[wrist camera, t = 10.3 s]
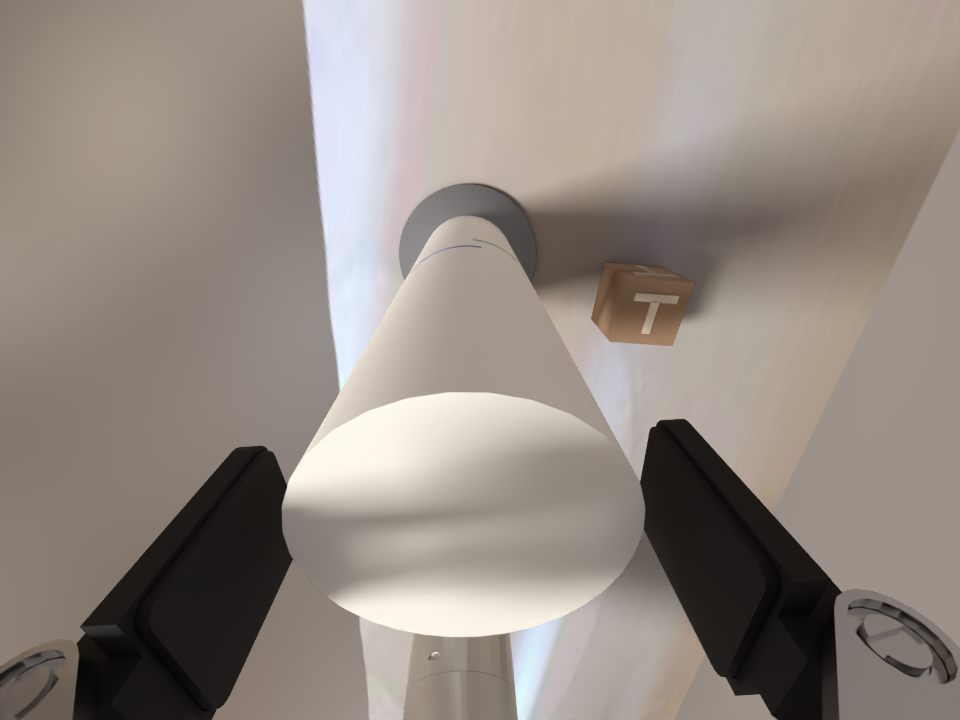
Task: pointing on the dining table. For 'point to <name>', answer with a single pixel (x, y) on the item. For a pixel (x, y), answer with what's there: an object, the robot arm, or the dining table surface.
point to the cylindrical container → (464, 460)
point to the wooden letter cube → (640, 303)
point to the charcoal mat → (470, 204)
